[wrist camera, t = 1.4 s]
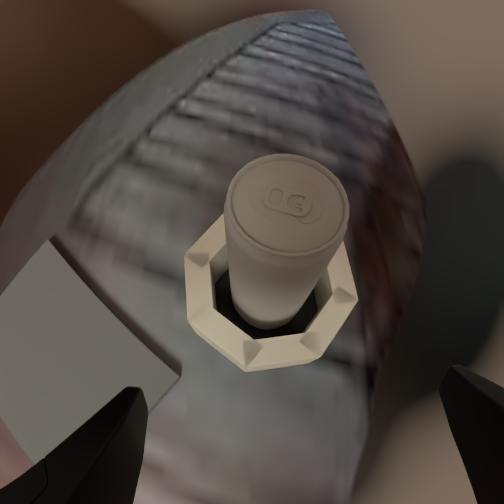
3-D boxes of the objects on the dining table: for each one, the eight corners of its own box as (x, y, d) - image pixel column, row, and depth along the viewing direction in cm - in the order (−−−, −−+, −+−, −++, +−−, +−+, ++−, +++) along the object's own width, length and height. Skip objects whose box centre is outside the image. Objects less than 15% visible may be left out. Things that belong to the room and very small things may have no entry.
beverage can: (289, 340, 21) (341, 277, 10) (222, 319, 21) (201, 236, 11) (307, 277, 23) (360, 170, 12) (244, 258, 23) (246, 138, 13)
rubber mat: (181, 376, 20) (178, 376, 19) (72, 497, 15) (67, 500, 14) (52, 243, 23) (47, 239, 23) (-31, 351, 18) (-37, 350, 18)
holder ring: (359, 285, 23) (379, 264, 19) (280, 398, 19) (289, 399, 15) (253, 211, 25) (255, 181, 21) (166, 307, 22) (151, 289, 18)
